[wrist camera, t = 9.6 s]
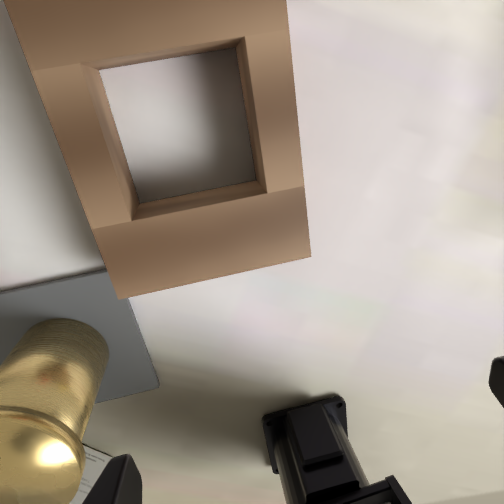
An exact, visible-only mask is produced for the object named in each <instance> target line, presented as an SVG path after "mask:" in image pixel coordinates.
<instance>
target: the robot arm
mask: <svg viewBox="0 0 504 504" xmlns="http://www.w3.org/2000/svg"><path fill="white" fill-rule="evenodd" d="M489 386H490V389H491V391H492V393H493V394H494V395H495V397H496V398H497V400H498V401H499V402H500V404H501V405H502V406H503V408H504V356H501V357H497V358H494V360H493V361H492V365H491V370H490V376H489ZM262 423H263V428H264V433H265V438H266V442H267V447H268V452H269V456H270V461H271V466H272V470H273V473H275V474H279V475H280V479H281V483H282V487H283V491H284V495H285V499H286V504H412V503H411V501H410V500H409V498H408V497H407V495H406V494H405V492H404V491H403V489H402V488H401V486H400V485H399V483H398V481H397V480H396V478H395V477H394V476H393V475H391V476H388V477H385V480H382V481H379V482H377V483H374V484H371V485H369V482H368V480H367V478H366V476H365V474H364V472H363V470H362V468H361V465H360V463H359V461H358V459H357V457H356V455H355V453H354V451H353V448H352V446H351V444H350V442H349V440H348V433H347V417H346V403H345V401H344V399H343V398H342V397H340V396H337V397H333V398H329V399H326V400H322V401H318V402H314V403H310V404H306V405H303V406H299V407H295V408H291V409H287V410H283V411H279V412H276V413H272V414H268V415H265V416H264V417H263V418H262ZM82 504H142V479H141V475H140V473H139V471H138V469H137V467H136V464H135V462H134V460H133V458H132V456H131V455H130V454H125V455H121V456H117V457H114V458H112V459H111V460H110V461H109V462H108V463H107V465H106V466H105V468H104V470H103V471H102V473H101V474H100V476H99V478H98V479H97V481H96V482H95V484H94V485H93V487H92V489H91V490H90V492H89V493H88V495H87V496H86V498H85V500H84V501H83V503H82Z"/></svg>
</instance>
